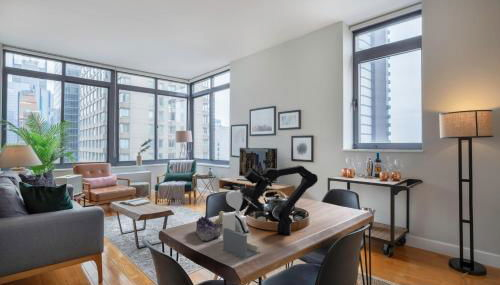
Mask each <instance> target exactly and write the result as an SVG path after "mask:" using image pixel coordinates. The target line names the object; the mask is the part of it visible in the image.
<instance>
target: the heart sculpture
mask: <svg viewBox="0 0 500 285" xmlns="http://www.w3.org/2000/svg"><path fill="white" fill-rule="evenodd" d="M242 194H243V193H241V192H240V189H238V190H236V191H235V190H230V191H227V193H226V195H225V201H226V203H227V205H229V206H230V207H231V208H233V209H235V213H236V214H238V215H239V216H240V217H241V218H242V219H243V218H247V217H246V216H244V214H242V215H240V211H239V209H240V207H241V204H242V197H243V196H242Z"/></svg>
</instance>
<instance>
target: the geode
mask: <svg viewBox="0 0 500 285" xmlns="http://www.w3.org/2000/svg"><path fill="white" fill-rule="evenodd" d="M212 221H213V220H210V218H209V217H208V216H207V215H205V216H201V217H199V218H198V219H197V221H195V223H196V227H195V228H196V229H195V234H196V235H197V237H198V238H199V239H200V240H201V241H202V242H205V243H207V242H209V241H213V239H216V238H220V237H221V231H220V230H221V228H220V226H219V224H214V223H213V222H214V221H213V222H212Z"/></svg>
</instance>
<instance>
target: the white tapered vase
mask: <svg viewBox="0 0 500 285" xmlns="http://www.w3.org/2000/svg"><path fill="white" fill-rule="evenodd" d="M233 213H234V212H231V211H229V212H225V213H222V223H221V225H222V228H221V231H222V235H223V229H224V228H228V229H231V230H233V231H236V229H235V215H234V214H233Z"/></svg>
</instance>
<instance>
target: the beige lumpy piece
mask: <svg viewBox="0 0 500 285" xmlns="http://www.w3.org/2000/svg"><path fill="white" fill-rule="evenodd" d="M222 213H226V212H225V211H223V210H221V211H219V212H218V218H217V219H214V221H213V220H211V221H212V222H213V223H214V224H218V225H220V223H221V224H222Z"/></svg>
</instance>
